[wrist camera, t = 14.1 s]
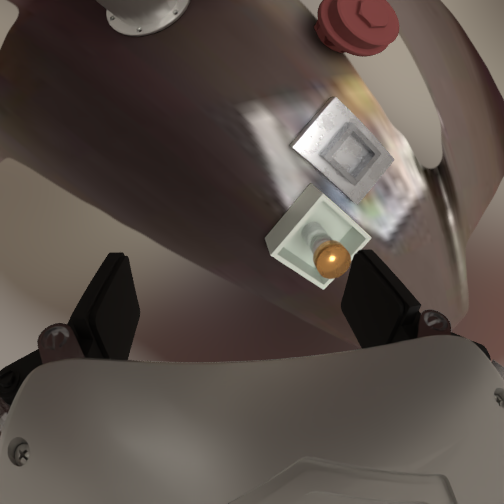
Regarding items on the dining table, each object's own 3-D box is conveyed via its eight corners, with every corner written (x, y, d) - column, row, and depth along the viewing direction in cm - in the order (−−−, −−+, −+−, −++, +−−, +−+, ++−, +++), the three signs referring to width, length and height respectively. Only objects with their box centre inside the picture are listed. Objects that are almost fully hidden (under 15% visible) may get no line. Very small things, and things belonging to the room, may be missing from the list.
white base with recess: (289, 145, 37) (296, 149, 34) (330, 97, 34) (341, 96, 31) (352, 201, 42) (362, 209, 39) (388, 157, 39) (401, 162, 36)
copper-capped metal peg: (299, 218, 42) (319, 248, 34) (327, 217, 43) (353, 246, 34) (297, 245, 45) (315, 280, 36) (324, 244, 45) (347, 277, 36)
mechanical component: (350, 6, 26) (371, 59, 31) (292, 11, 27) (315, 67, 32) (391, -19, 16) (419, 49, 20) (320, -22, 16) (353, 53, 21)
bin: (264, 238, 44) (270, 255, 39) (310, 182, 40) (323, 193, 35) (313, 271, 48) (323, 289, 43) (356, 223, 45) (371, 237, 40)
